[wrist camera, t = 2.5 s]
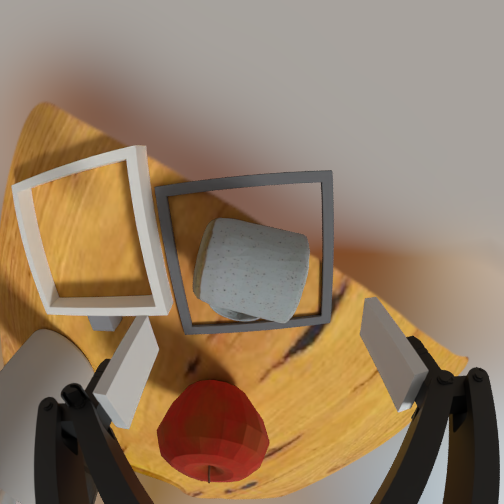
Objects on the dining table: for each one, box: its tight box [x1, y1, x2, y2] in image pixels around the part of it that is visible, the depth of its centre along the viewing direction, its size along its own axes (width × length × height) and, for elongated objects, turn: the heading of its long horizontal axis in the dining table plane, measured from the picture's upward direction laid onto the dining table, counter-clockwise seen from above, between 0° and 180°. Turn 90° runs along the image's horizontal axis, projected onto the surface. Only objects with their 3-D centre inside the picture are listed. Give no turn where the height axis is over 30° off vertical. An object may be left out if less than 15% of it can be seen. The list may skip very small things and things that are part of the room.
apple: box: [157, 380, 270, 483], centre depth 26 cm, size 12×12×14 cm
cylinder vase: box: [0, 329, 94, 504], centre depth 20 cm, size 12×12×25 cm
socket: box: [12, 145, 173, 331], centre depth 24 cm, size 17×18×2 cm
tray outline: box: [155, 170, 334, 335], centre depth 26 cm, size 16×16×1 cm
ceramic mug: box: [193, 218, 310, 323], centre depth 23 cm, size 11×8×8 cm
